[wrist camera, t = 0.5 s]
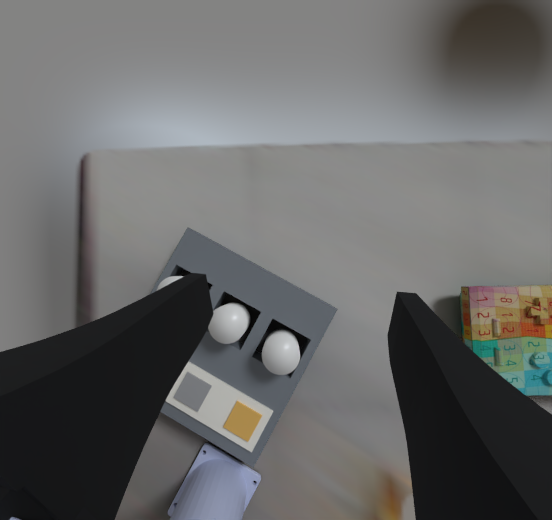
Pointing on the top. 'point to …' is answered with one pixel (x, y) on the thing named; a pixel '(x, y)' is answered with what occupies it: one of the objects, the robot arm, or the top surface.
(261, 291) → the board
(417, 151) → the top surface
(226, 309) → the button middle
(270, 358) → the button
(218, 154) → the top surface
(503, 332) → the puzzle game
